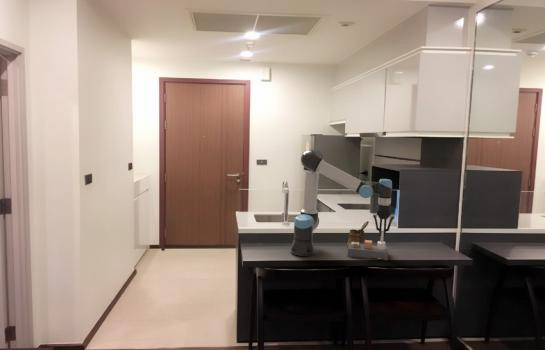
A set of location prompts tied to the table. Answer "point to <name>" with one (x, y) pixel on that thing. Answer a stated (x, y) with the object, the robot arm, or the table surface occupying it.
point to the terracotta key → (368, 244)
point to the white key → (381, 245)
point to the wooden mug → (356, 234)
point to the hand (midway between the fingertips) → (381, 241)
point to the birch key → (355, 244)
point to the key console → (367, 252)
